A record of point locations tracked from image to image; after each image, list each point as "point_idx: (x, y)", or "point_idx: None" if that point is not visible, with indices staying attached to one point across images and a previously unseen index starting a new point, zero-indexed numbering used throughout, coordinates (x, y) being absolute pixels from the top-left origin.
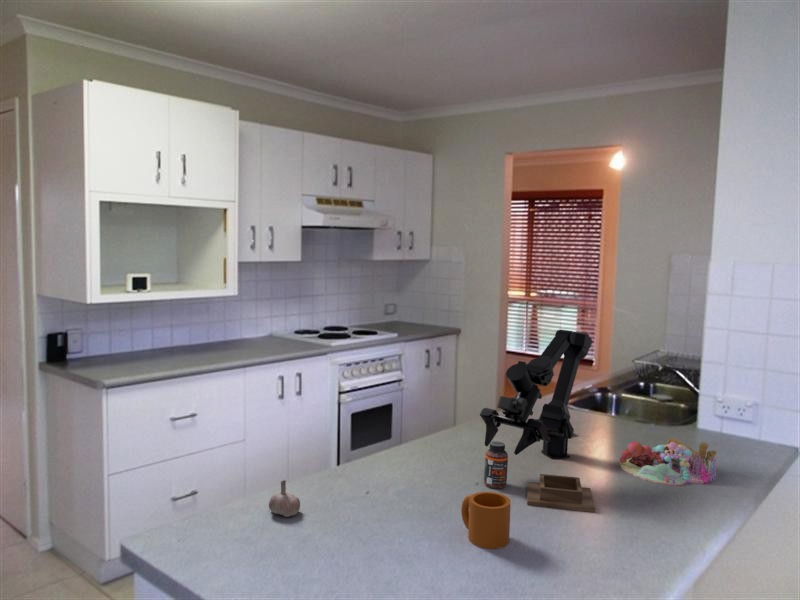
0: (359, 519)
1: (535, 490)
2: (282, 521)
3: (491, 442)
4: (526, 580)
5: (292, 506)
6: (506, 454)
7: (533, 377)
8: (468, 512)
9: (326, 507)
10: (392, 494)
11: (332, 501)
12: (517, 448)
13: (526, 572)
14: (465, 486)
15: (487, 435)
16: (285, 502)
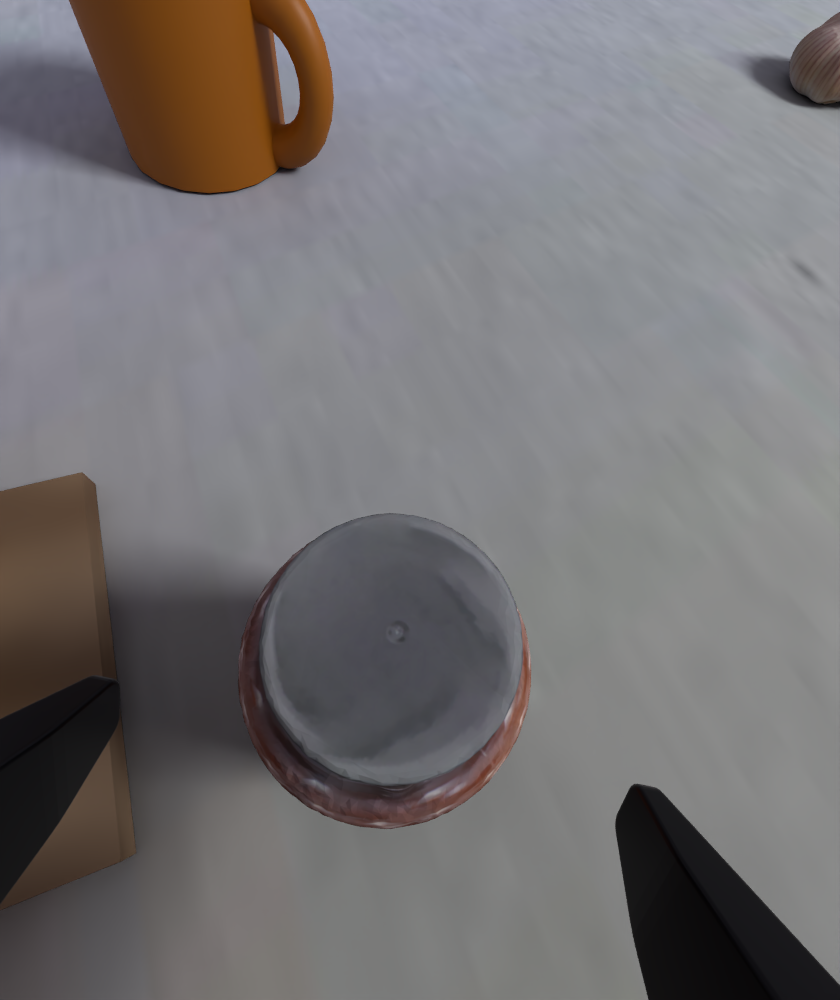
0: (647, 122)
1: (32, 684)
2: (779, 64)
3: (498, 618)
4: (43, 21)
5: (810, 38)
6: (244, 648)
7: None
8: (300, 98)
9: (783, 145)
10: (725, 295)
11: (812, 178)
12: (21, 718)
13: (46, 46)
14: (530, 545)
15: (764, 948)
16: (833, 19)
